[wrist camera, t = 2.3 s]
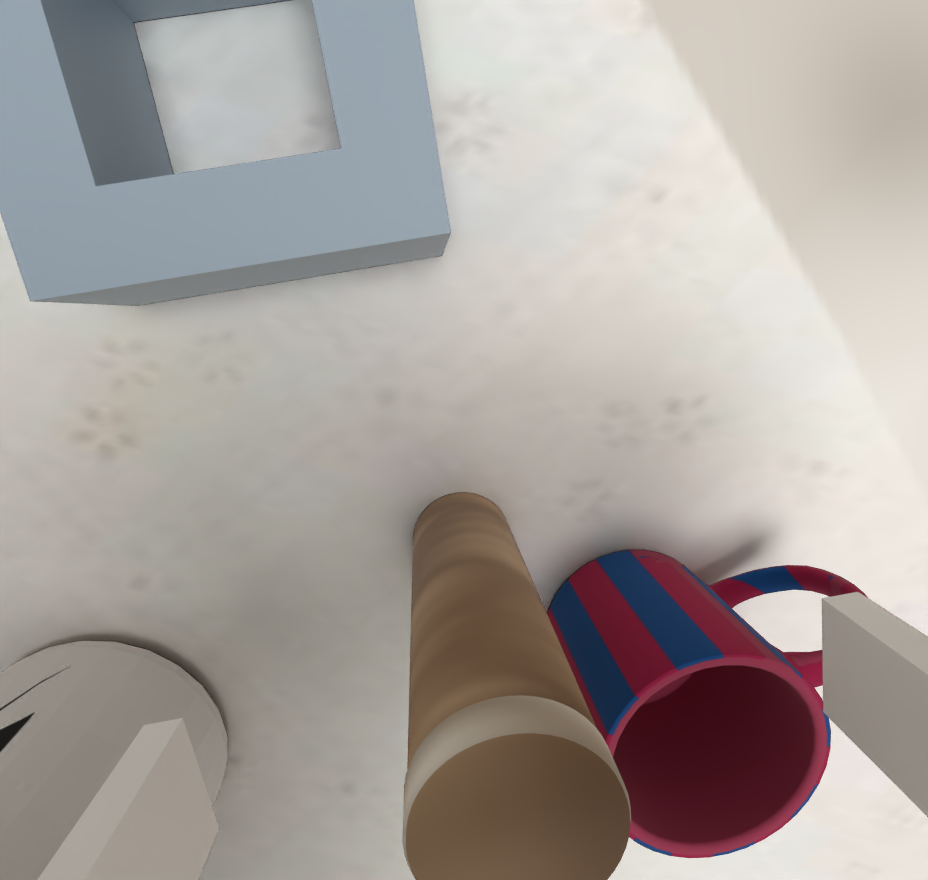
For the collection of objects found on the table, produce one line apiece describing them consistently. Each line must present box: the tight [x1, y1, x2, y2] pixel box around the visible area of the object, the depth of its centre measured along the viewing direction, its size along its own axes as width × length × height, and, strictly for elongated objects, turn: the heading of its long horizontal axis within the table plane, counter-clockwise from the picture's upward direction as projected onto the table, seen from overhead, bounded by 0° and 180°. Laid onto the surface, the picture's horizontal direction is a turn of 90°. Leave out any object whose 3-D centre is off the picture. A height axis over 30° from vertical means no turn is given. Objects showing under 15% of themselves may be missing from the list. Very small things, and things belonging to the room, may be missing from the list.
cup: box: [547, 550, 868, 858], centre depth 18 cm, size 7×10×7 cm
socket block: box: [0, 0, 451, 306], centre depth 14 cm, size 10×10×5 cm
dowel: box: [403, 493, 631, 880], centre depth 14 cm, size 4×4×12 cm
